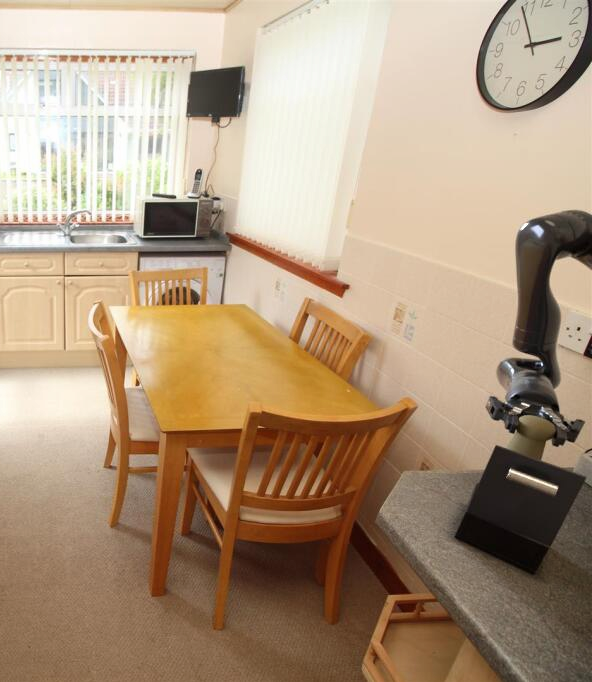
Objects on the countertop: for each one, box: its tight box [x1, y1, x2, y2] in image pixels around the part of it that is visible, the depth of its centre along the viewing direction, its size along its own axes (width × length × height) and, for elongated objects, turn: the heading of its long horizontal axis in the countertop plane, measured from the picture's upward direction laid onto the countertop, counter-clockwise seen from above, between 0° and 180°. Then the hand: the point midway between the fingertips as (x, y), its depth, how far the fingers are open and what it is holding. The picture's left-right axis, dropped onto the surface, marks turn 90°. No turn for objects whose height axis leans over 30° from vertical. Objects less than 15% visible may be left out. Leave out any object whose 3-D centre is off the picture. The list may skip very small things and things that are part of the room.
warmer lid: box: [467, 444, 587, 548], centre depth 74 cm, size 12×11×5 cm
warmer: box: [454, 482, 550, 576], centre depth 82 cm, size 12×11×6 cm
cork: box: [504, 415, 556, 461], centre depth 86 cm, size 6×6×11 cm
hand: (535, 435), depth 83 cm, fingers closed on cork, 5 cm apart
